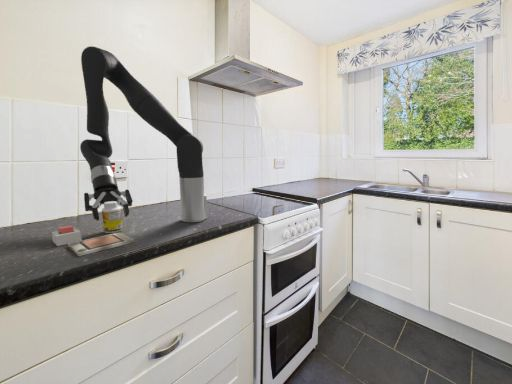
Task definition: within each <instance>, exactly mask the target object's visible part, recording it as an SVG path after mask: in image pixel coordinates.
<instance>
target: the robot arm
mask: <svg viewBox="0 0 512 384" xmlns="http://www.w3.org/2000/svg"><path fill="white" fill-rule="evenodd" d="M80 59H81V60H80V63H81V64H80V65H81V70H82V76H83V82H84V83H83V84H84V90H85V98H86V131H87V132H88V133H89V134H92V135H94V136H98V137H100V138H101V140H99V139H84V140H83V141H82V142H80V146H79V148H80V153H81V154H82V157H83V158H84V159H85V160H86V162H87V163H88V165H89V169H90V179H91V184H92V188H93V194H91V193H89V192H84V194H83V201H84V210H85V212H92V218H93V220H95V221H100V214H99V210H98V209H100V208H101V206H102V205H104V203H105V202H110V201H116V202H117V204H118V206H119V207H121V208H122V210H123V214H124V217H128V216H129V214H130V209H129V207H132V205H133V202H134V200H133V197H132V195H131V193H130V190H129V189H125V190H124V191H120V190H119V186H118V183H117V179H116V175H115V172H114V170H113V167H112V161H111V160H110V157H112V154H113V147H112V143H111V140H110V134H109V133H110V132H109V124H110V123H109V120H110V114H109V108H108V105H107V104H108V103H107V101H106V100H105V96H104V95H105V94H104V88H103V87H104V79H106V80H108V81H109V82H110V83H111V84H113V86H115V87H116V88H118V90H119V91H120V92H121V93H122V95H123V96H124V98H125V99H126V102H127V103H128V105H129V107H130V108H131V109H132V110H133V111H134V113H136V114H137V115H138V116H139V117H140V119H142V120H143V121H144V122H146V123H147V124H148V125H149V126H151V127H152V128H153V129H155V130H156V131H158V132H159V133H161V134H162V135H164V136H165V137H166V138H167V139H168V140H169V141H170V142H171V143H172V144H173V145H175V147H176V163H177V170H178V174H179V175H178V176H179V194H180V213H181V221H182V222H184V223H198V222H202V221H205V220H206V219H208V203H207V195H206V194H205V182H204V181H205V178H204V176H205V175H204V166H203V151H204V145H203V141H201V140H200V139H199V138H198V137H197V136H195V135H194V134H192V132H190V131H188V129H186V128H185V127H184V126H183V125H181V124H180V122H179V121H178V120H177V119H176V117H174V115H173V114H172V113H171V111H170V110H169V109H168V108H167V106H165V105H164V104H163V103H162V102H161V101H160V100H159V98H157V97H156V96H155V95H154V94H153V93H152V92H151V91H150V90H149V89H148V88H147V87H145V86H144V85H143V84H142V83H141V82H140V81H138V80H137V79H136V78H135V77H134V76H133V75H132V74H131V73H130V71H129V70H128V69H127V68H126V67H125V66H124V65H123V63H121V61H120V59H118V58H117V56H115V55H114V54H113V53H112V52H110V51H108V50H106V49H102V48H101V47H100V48H99V47H97V46H92V45H90V46H87V47H85V48H84V49H83V50H82V52H81V57H80ZM121 196H122V197H121ZM124 198H125V199H124ZM92 199H94V200H95V201H94V203H93V205H90V201H92Z"/></svg>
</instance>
